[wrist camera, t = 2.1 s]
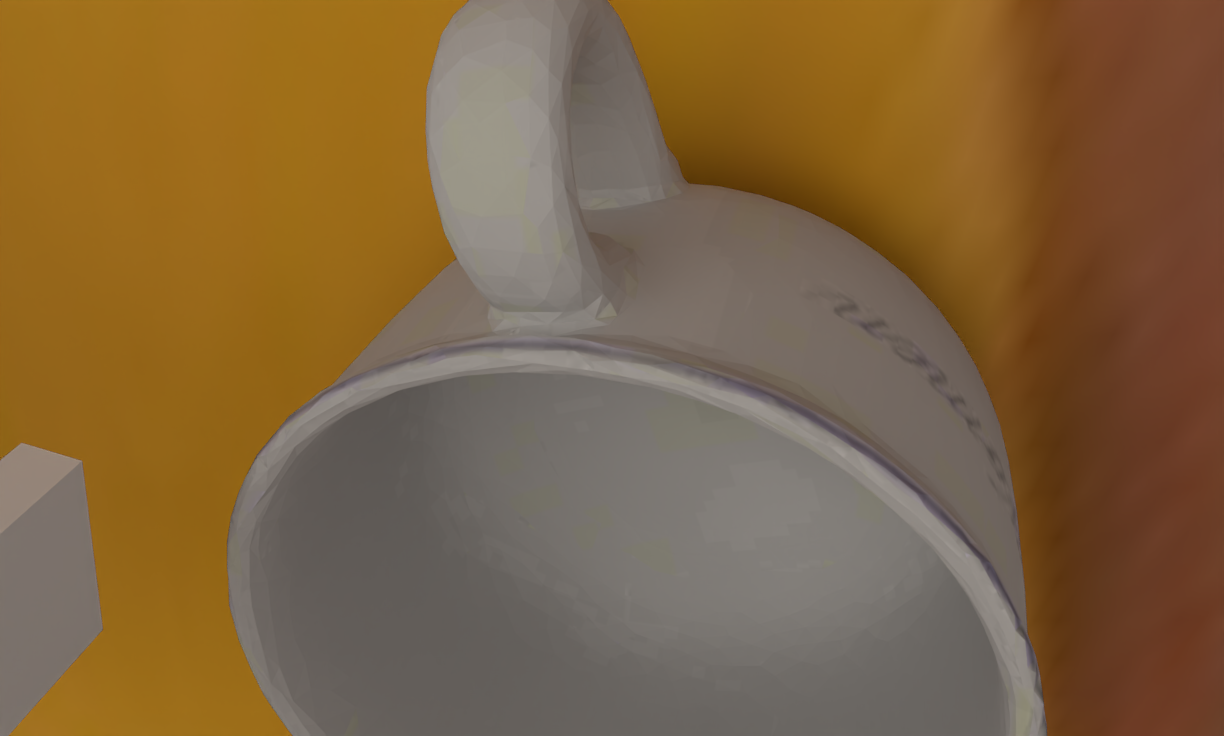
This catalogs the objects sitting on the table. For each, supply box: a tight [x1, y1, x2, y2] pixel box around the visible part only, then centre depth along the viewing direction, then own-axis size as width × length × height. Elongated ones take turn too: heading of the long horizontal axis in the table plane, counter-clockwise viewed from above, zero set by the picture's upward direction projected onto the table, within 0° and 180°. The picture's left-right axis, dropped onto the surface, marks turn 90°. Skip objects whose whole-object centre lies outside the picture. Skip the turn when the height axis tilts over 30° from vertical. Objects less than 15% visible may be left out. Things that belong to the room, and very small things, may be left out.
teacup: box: [227, 0, 1047, 736], centre depth 16 cm, size 14×11×8 cm
